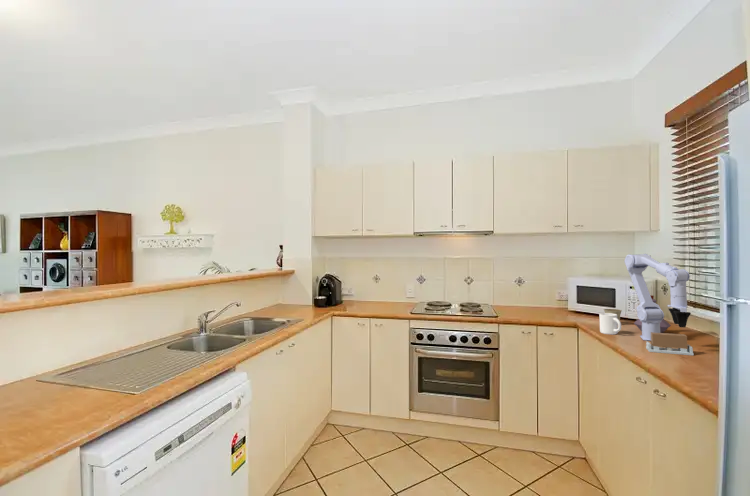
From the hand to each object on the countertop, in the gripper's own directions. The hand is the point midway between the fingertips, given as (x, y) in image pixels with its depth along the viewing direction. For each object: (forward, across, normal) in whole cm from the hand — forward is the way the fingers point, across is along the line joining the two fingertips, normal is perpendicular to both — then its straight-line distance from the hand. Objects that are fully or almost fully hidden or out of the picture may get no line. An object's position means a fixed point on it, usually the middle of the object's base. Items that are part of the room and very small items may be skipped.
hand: (679, 325), depth 163 cm
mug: (+11, -23, -24) cm, 35 cm away
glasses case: (+8, +8, -6) cm, 13 cm away
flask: (+11, -35, -4) cm, 37 cm away
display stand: (+10, +8, -6) cm, 14 cm away
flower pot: (+11, -53, -20) cm, 58 cm away
